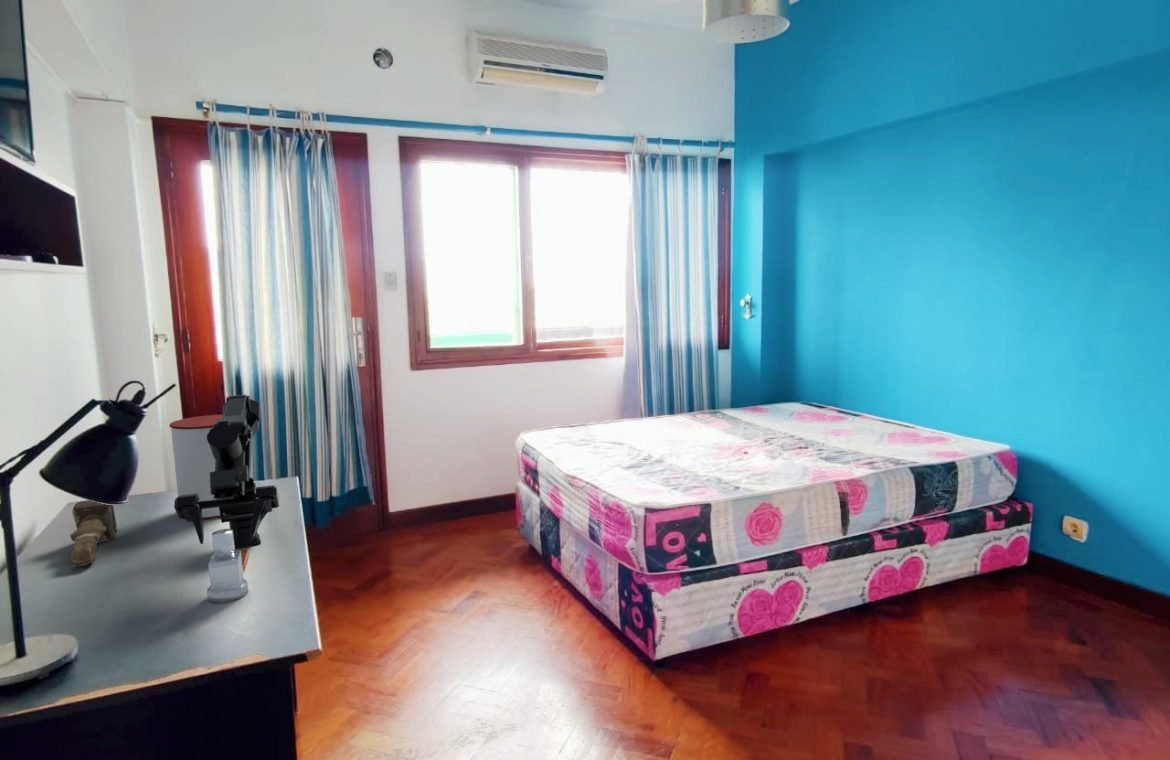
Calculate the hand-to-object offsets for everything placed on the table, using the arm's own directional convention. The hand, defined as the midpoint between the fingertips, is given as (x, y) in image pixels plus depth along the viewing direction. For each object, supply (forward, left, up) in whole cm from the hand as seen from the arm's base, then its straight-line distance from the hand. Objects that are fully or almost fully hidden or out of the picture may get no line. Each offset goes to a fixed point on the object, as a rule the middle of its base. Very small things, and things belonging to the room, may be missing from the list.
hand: (227, 539), depth 133 cm
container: (-56, -1, -10) cm, 57 cm away
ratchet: (-3, +1, -10) cm, 10 cm away
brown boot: (-37, -27, -10) cm, 46 cm away
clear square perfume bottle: (+5, -1, -8) cm, 9 cm away
